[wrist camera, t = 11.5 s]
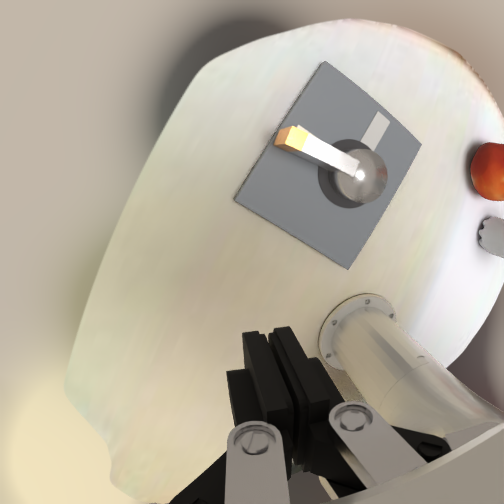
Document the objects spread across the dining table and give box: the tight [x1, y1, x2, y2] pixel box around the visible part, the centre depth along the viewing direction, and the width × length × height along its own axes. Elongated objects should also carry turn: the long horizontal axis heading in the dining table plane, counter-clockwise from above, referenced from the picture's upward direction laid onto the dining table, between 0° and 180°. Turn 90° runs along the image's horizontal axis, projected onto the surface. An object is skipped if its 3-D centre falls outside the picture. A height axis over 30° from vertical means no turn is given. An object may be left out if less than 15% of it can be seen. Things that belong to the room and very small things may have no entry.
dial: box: [273, 126, 388, 203], centre depth 33 cm, size 13×6×5 cm, turn 67°
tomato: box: [470, 142, 504, 201], centre depth 37 cm, size 9×9×8 cm
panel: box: [234, 61, 422, 270], centre depth 37 cm, size 17×20×2 cm
